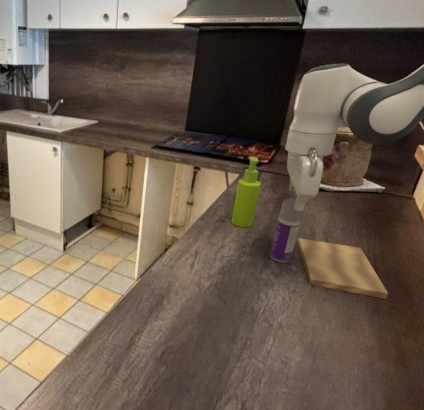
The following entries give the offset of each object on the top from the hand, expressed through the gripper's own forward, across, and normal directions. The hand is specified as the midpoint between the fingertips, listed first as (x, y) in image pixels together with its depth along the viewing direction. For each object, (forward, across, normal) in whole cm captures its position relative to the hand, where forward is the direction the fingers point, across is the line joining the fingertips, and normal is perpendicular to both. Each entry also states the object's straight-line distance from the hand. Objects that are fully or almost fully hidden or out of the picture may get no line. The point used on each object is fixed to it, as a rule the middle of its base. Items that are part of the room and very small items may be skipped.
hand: (295, 201), depth 84 cm
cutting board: (+15, 0, -12) cm, 19 cm away
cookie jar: (+16, +70, -24) cm, 75 cm away
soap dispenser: (+15, +18, +9) cm, 25 cm away
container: (+15, 0, 0) cm, 16 cm away
